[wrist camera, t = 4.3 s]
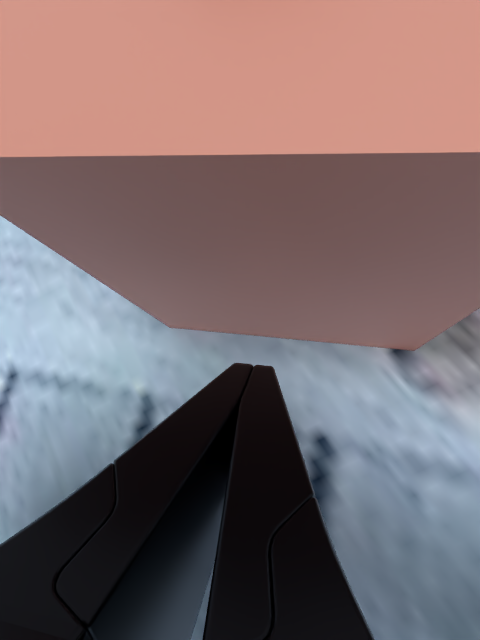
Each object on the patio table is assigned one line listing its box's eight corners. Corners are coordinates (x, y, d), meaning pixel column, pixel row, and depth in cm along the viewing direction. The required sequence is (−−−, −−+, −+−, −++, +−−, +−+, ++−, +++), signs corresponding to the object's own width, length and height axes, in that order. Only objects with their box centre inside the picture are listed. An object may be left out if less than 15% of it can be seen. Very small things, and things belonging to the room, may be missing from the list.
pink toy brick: (413, 351, 14) (917, 21, 2) (170, 328, 16) (-187, 91, 4) (419, 46, 18) (634, -677, 6) (220, 59, 20) (93, -459, 8)
